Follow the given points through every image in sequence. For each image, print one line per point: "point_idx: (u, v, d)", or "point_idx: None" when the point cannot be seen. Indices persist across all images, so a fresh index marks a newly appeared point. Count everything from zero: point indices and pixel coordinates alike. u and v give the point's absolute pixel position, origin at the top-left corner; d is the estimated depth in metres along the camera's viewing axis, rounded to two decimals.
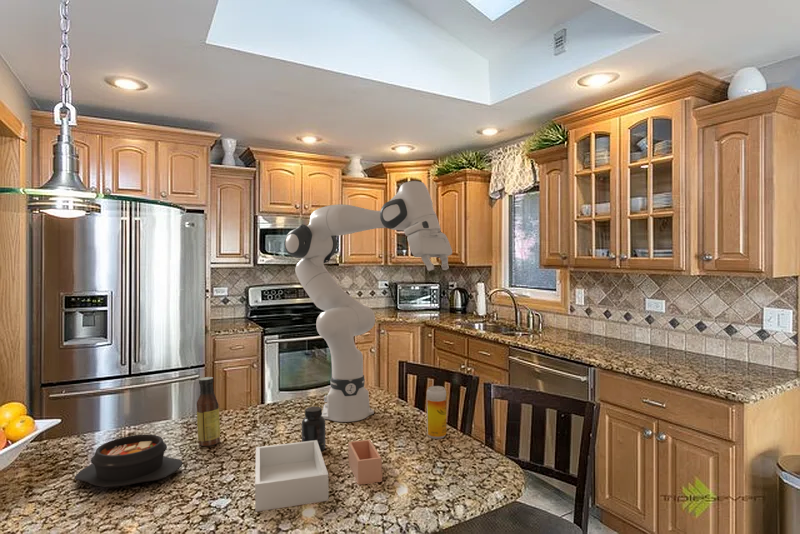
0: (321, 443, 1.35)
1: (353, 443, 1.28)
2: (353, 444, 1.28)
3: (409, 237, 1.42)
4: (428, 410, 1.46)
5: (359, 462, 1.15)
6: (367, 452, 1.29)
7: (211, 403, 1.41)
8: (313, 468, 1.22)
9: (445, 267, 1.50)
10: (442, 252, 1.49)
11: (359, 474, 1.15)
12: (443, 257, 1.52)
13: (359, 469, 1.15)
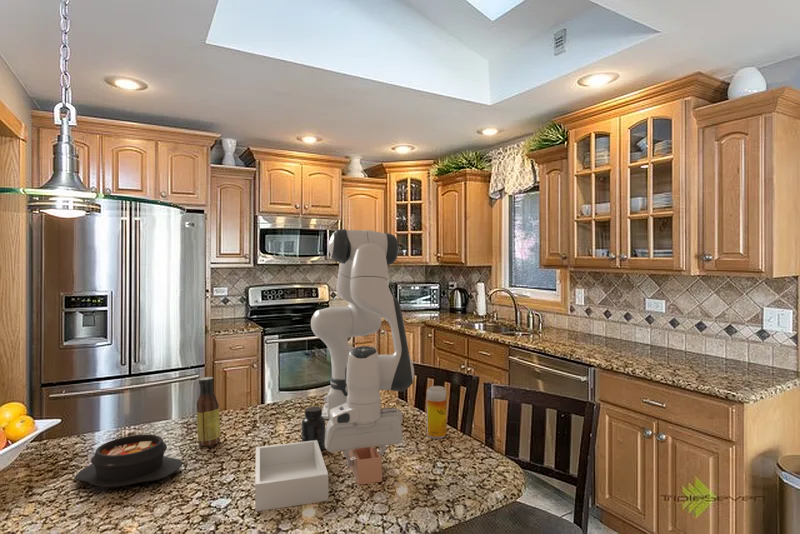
0: (321, 443, 1.35)
1: None
2: None
3: (327, 423, 1.21)
4: (428, 410, 1.46)
5: (359, 462, 1.15)
6: (367, 452, 1.29)
7: (211, 403, 1.41)
8: (313, 468, 1.22)
9: None
10: (375, 445, 1.21)
11: (359, 474, 1.15)
12: (380, 446, 1.23)
13: (359, 469, 1.15)
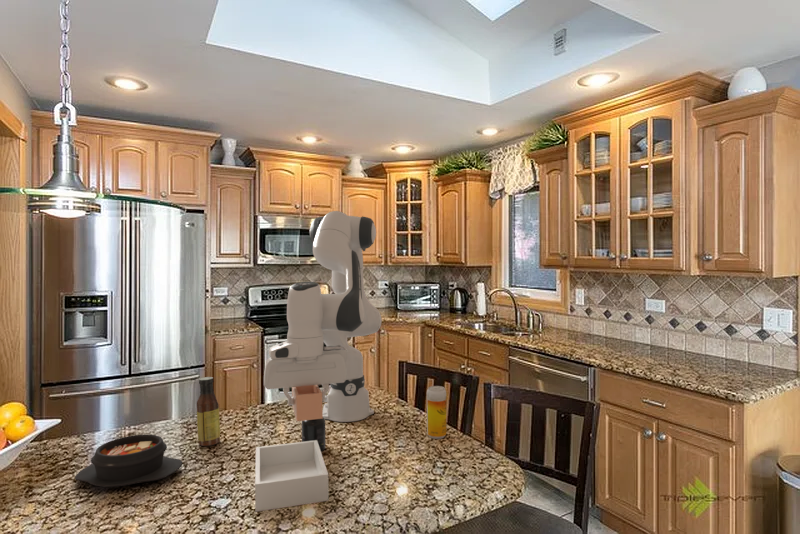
0: (321, 443, 1.35)
1: None
2: None
3: (267, 361, 1.16)
4: (428, 410, 1.46)
5: (298, 397, 1.10)
6: (312, 394, 1.23)
7: (211, 403, 1.41)
8: (313, 468, 1.22)
9: None
10: (317, 383, 1.16)
11: (298, 409, 1.10)
12: (323, 385, 1.18)
13: (298, 404, 1.10)
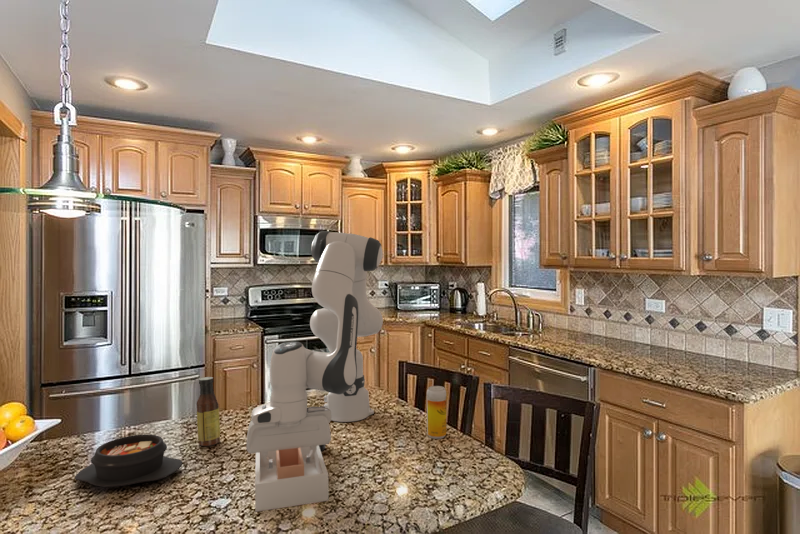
0: None
1: None
2: (281, 450, 1.21)
3: (250, 423, 1.15)
4: (428, 410, 1.46)
5: (279, 469, 1.09)
6: (296, 458, 1.22)
7: (211, 403, 1.41)
8: (313, 468, 1.22)
9: (306, 461, 1.17)
10: (300, 446, 1.15)
11: None
12: (310, 447, 1.17)
13: (279, 477, 1.09)
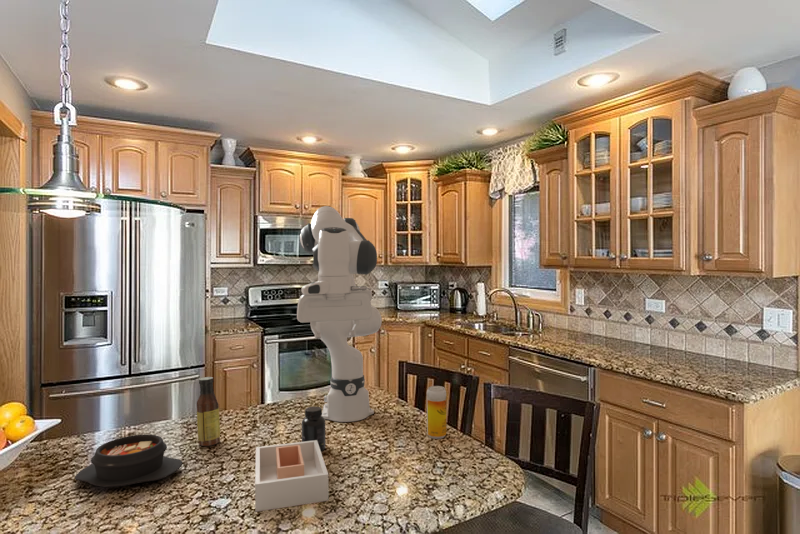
0: (321, 443, 1.35)
1: (281, 449, 1.21)
2: (281, 450, 1.21)
3: (299, 298, 1.27)
4: (428, 410, 1.46)
5: (279, 469, 1.09)
6: (296, 458, 1.22)
7: (211, 403, 1.41)
8: (313, 468, 1.22)
9: (350, 334, 1.29)
10: (345, 319, 1.27)
11: None
12: (353, 322, 1.29)
13: (279, 477, 1.09)
